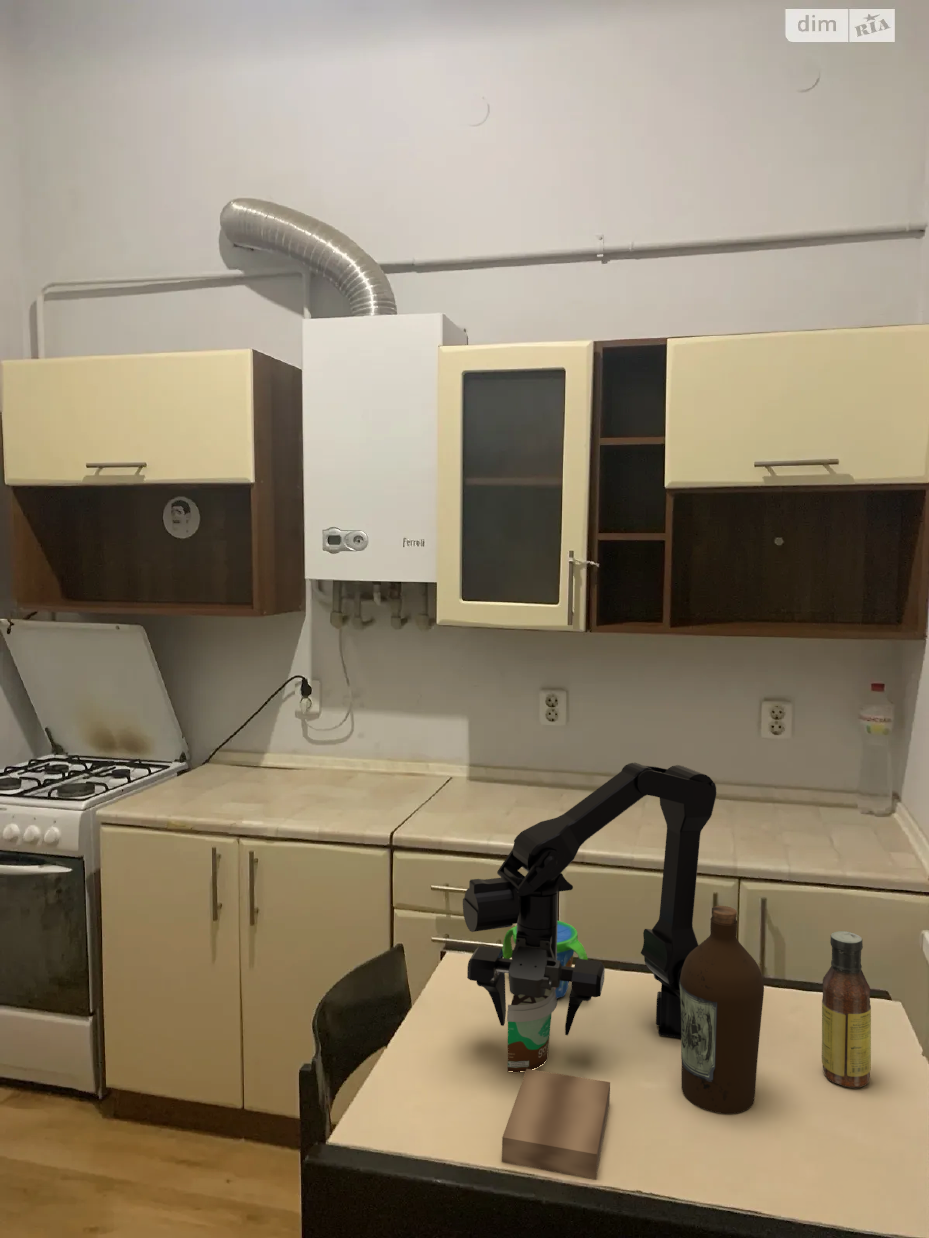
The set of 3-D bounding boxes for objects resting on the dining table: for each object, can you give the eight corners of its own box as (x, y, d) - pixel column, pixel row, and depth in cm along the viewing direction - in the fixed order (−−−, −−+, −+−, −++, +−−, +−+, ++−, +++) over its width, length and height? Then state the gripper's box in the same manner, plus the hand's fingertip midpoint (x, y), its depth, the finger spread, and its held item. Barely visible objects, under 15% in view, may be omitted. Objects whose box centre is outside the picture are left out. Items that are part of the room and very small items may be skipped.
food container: (550, 1083, 123) (552, 1011, 123) (505, 1077, 124) (507, 1006, 124) (559, 1037, 135) (561, 971, 135) (518, 1032, 137) (520, 967, 136)
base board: (609, 1104, 119) (610, 1081, 119) (596, 1179, 104) (596, 1153, 104) (526, 1090, 122) (526, 1068, 121) (501, 1161, 107) (502, 1136, 107)
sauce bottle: (870, 1071, 127) (877, 932, 126) (869, 1095, 122) (876, 949, 120) (820, 1060, 130) (826, 923, 129) (817, 1082, 125) (823, 940, 123)
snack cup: (487, 985, 151) (488, 925, 151) (528, 965, 159) (529, 908, 158) (561, 1019, 140) (563, 955, 140) (602, 997, 148) (603, 935, 147)
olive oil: (722, 1064, 129) (728, 890, 127) (777, 1105, 119) (784, 918, 117) (660, 1081, 124) (666, 901, 123) (712, 1125, 115) (719, 931, 113)
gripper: (458, 936, 123) (456, 1048, 124) (597, 953, 118) (594, 1069, 119) (477, 906, 134) (476, 1009, 135) (606, 921, 129) (603, 1028, 130)
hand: (534, 1029), depth 130 cm, fingers open, 9 cm apart
